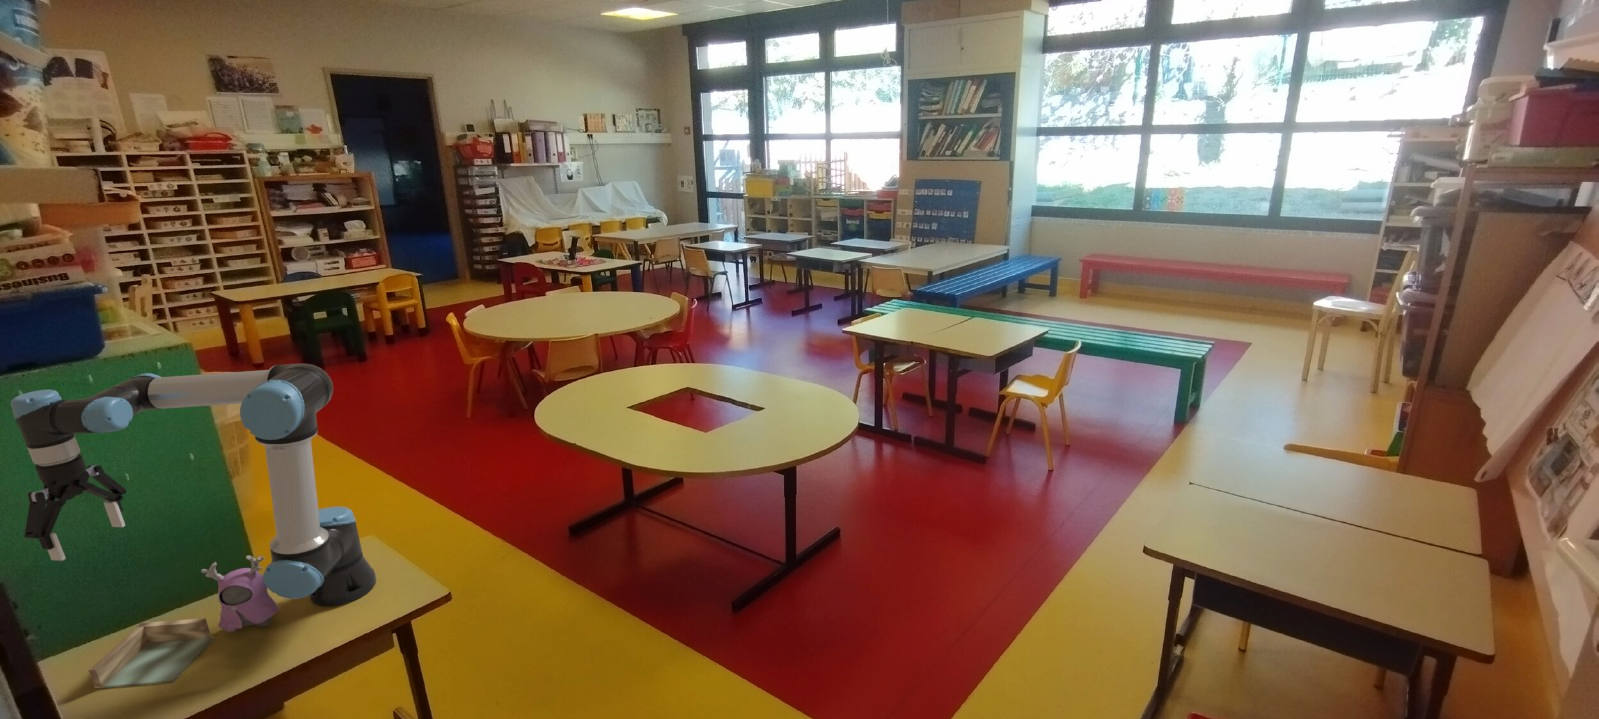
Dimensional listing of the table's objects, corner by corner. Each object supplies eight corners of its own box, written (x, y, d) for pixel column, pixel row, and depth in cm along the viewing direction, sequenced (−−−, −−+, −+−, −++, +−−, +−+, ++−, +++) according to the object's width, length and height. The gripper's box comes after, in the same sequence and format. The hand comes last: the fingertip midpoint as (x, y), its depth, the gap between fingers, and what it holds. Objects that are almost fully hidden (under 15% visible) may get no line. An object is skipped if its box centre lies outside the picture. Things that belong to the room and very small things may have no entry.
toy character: (213, 647, 171) (190, 576, 165) (232, 620, 181) (211, 551, 174) (272, 637, 174) (252, 566, 168) (288, 611, 184) (269, 543, 177)
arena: (218, 633, 176) (213, 616, 174) (172, 682, 161) (166, 664, 159) (148, 639, 174) (142, 622, 172) (95, 688, 159) (88, 670, 157)
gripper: (99, 434, 172) (127, 513, 179) (-24, 486, 148) (15, 574, 155) (128, 435, 171) (155, 514, 178) (9, 487, 147) (46, 575, 154)
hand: (90, 542), depth 166 cm, fingers open, 13 cm apart
